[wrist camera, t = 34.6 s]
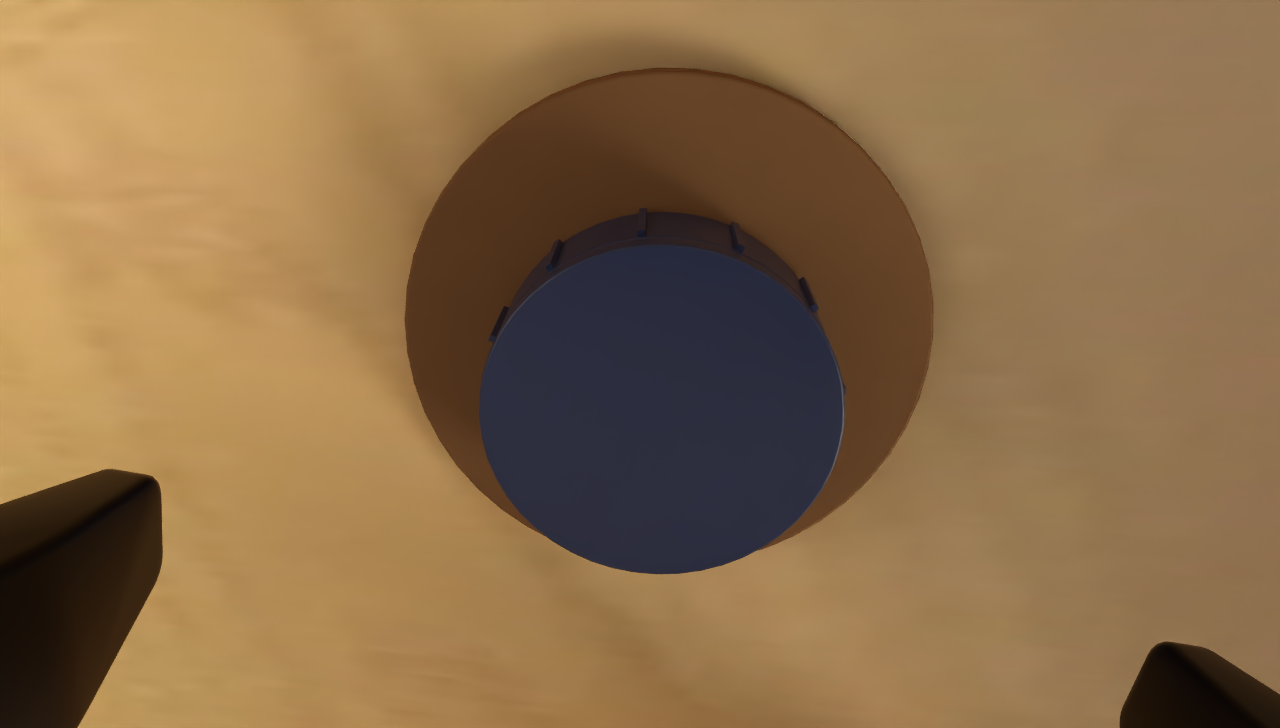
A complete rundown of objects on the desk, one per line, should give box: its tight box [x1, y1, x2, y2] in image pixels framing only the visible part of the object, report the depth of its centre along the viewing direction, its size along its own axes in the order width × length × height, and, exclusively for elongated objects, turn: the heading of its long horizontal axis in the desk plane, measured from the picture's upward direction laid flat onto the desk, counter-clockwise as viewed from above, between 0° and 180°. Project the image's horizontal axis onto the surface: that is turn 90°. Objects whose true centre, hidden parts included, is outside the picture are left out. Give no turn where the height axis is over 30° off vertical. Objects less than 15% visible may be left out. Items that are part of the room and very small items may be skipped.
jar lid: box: [479, 208, 846, 574], centre depth 14 cm, size 5×5×2 cm
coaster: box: [405, 68, 933, 550], centre depth 15 cm, size 8×8×1 cm
